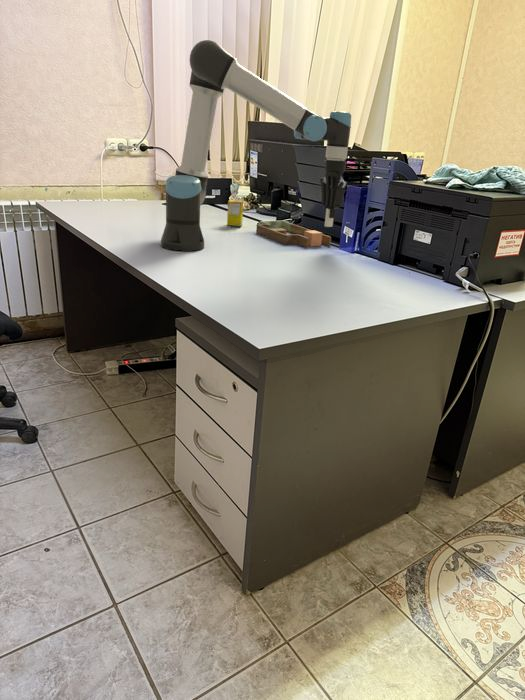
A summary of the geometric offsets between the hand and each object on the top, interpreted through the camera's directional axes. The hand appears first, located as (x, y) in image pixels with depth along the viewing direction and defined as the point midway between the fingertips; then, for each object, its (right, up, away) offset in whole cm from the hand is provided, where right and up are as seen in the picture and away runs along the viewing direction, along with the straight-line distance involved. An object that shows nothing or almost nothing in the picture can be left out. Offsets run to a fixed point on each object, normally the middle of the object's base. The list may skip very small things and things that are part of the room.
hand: (328, 226), depth 188 cm
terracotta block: (-5, -5, +10) cm, 12 cm away
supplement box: (-37, +8, +33) cm, 50 cm away
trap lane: (-14, 0, +18) cm, 23 cm away
